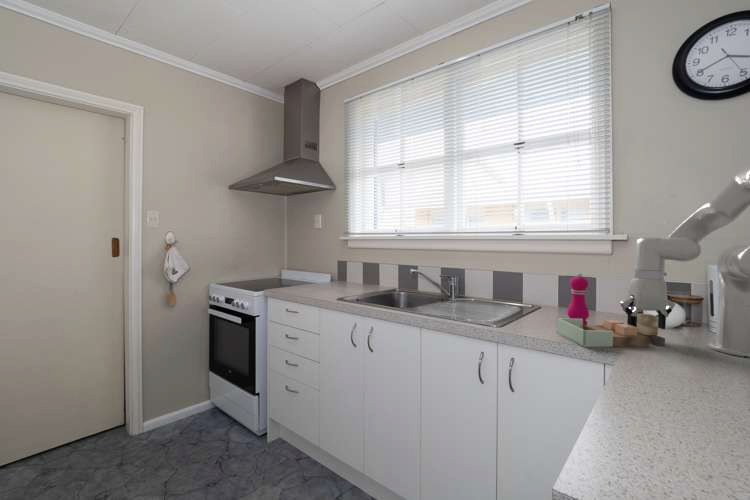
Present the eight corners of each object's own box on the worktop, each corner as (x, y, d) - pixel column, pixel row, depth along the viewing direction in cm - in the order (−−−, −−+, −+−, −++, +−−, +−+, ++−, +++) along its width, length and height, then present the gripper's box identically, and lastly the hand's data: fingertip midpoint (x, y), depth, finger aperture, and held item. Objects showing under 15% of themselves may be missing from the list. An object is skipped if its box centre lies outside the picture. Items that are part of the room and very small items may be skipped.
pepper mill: (592, 327, 129) (594, 274, 128) (573, 327, 129) (575, 273, 128) (581, 322, 136) (583, 272, 135) (563, 322, 136) (564, 271, 136)
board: (617, 334, 121) (618, 325, 121) (649, 347, 107) (649, 337, 107) (583, 333, 121) (583, 325, 121) (610, 346, 107) (610, 336, 107)
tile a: (627, 331, 113) (627, 324, 113) (636, 335, 109) (637, 327, 109) (615, 331, 113) (615, 324, 113) (623, 335, 109) (624, 327, 109)
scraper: (639, 336, 119) (640, 311, 119) (666, 346, 108) (667, 319, 108) (627, 335, 119) (629, 311, 119) (653, 346, 108) (654, 319, 108)
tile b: (614, 327, 119) (615, 319, 119) (623, 330, 115) (623, 322, 115) (603, 326, 119) (603, 319, 119) (611, 330, 115) (611, 322, 115)
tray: (581, 332, 122) (582, 318, 122) (612, 347, 106) (613, 331, 106) (556, 332, 122) (556, 318, 122) (583, 347, 106) (584, 330, 106)
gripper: (666, 274, 117) (663, 325, 117) (614, 273, 117) (611, 324, 117) (686, 277, 109) (682, 331, 110) (630, 276, 109) (627, 330, 110)
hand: (646, 327), depth 114 cm, fingers open, 8 cm apart
